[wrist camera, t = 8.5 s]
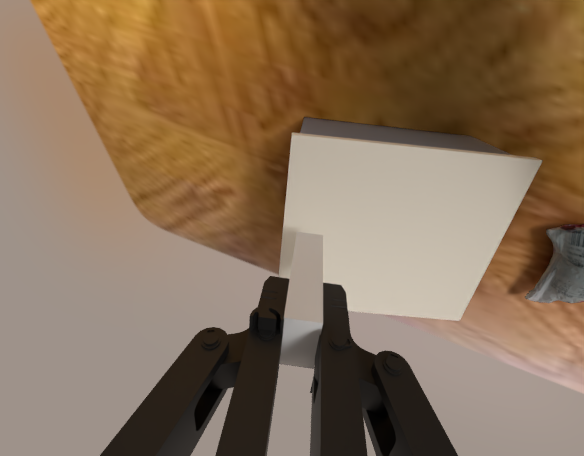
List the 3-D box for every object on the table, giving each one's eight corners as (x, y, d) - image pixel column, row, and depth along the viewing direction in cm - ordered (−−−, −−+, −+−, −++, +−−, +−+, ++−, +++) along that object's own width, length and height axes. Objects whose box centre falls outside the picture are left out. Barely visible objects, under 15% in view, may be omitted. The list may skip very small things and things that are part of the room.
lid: (291, 132, 17) (291, 134, 16) (535, 157, 17) (542, 160, 17) (276, 299, 23) (275, 304, 23) (455, 315, 24) (459, 320, 23)
